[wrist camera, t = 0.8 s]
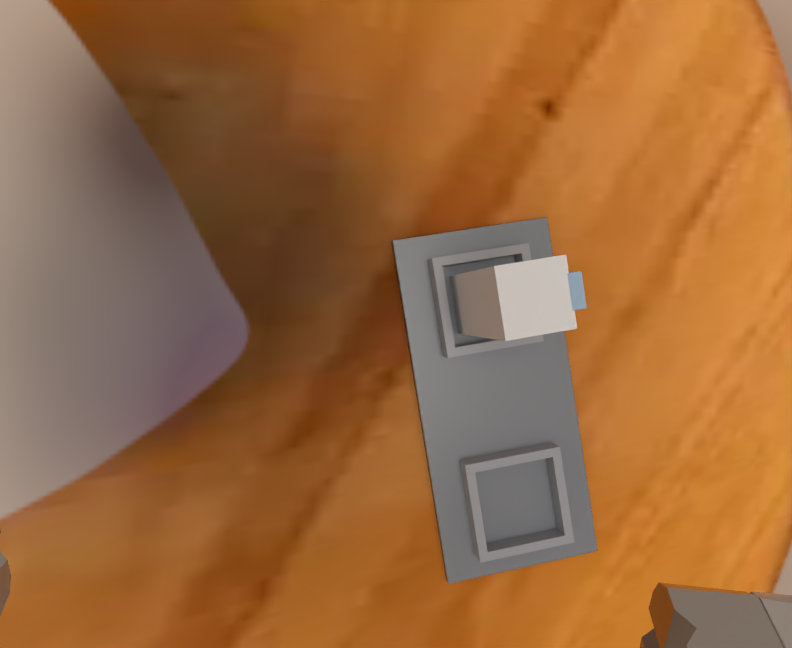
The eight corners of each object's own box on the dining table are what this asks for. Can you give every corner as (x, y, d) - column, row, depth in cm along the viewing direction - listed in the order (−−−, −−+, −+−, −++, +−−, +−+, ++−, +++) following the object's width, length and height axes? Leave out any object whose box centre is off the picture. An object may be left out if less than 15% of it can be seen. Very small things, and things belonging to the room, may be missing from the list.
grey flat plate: (391, 241, 46) (396, 238, 44) (544, 218, 48) (555, 214, 46) (446, 580, 47) (453, 593, 45) (594, 548, 49) (607, 559, 47)
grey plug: (449, 276, 46) (494, 265, 35) (515, 265, 47) (578, 252, 36) (459, 333, 46) (505, 341, 36) (524, 322, 47) (589, 326, 36)
